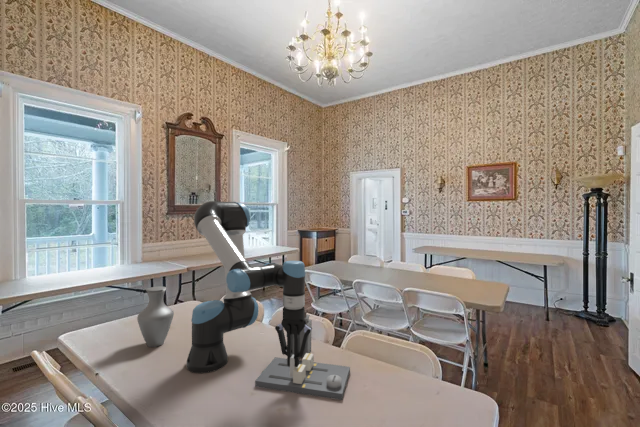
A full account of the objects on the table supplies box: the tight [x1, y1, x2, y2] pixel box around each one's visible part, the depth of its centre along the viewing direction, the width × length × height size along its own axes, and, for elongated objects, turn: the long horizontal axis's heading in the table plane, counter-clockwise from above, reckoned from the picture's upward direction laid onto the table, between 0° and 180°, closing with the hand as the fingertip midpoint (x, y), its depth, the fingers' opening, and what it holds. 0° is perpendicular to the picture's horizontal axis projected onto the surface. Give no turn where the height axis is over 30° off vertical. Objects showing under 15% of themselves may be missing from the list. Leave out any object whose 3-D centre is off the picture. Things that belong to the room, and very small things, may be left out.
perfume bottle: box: [292, 309, 313, 359], centre depth 130 cm, size 7×7×18 cm
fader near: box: [293, 364, 306, 384], centre depth 105 cm, size 3×5×4 cm, turn 166°
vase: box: [136, 285, 175, 348], centre depth 138 cm, size 14×14×25 cm
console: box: [254, 357, 351, 401], centre depth 110 cm, size 30×18×4 cm, turn 76°
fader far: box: [301, 352, 315, 371], centre depth 114 cm, size 3×5×4 cm, turn 166°
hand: (293, 375), depth 106 cm, fingers closed
